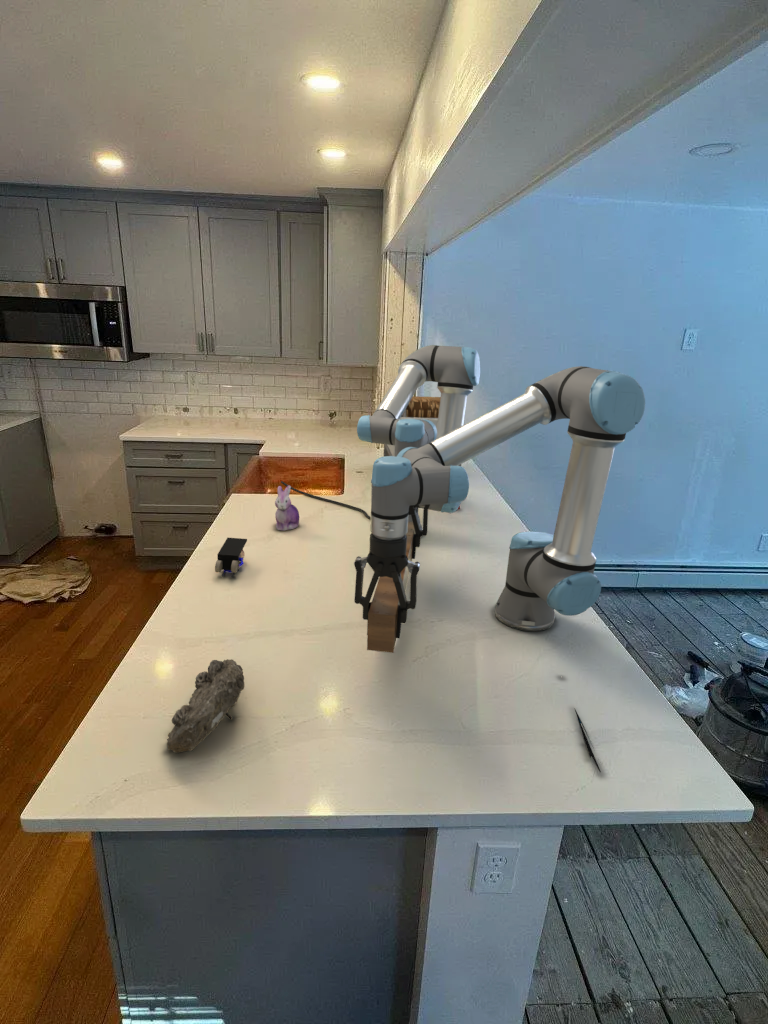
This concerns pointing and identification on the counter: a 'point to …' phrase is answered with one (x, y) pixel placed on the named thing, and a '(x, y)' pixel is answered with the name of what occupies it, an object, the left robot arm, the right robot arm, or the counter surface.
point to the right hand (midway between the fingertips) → (384, 633)
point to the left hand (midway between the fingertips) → (402, 555)
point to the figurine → (285, 511)
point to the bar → (387, 607)
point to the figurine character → (230, 556)
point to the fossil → (206, 705)
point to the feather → (587, 741)
